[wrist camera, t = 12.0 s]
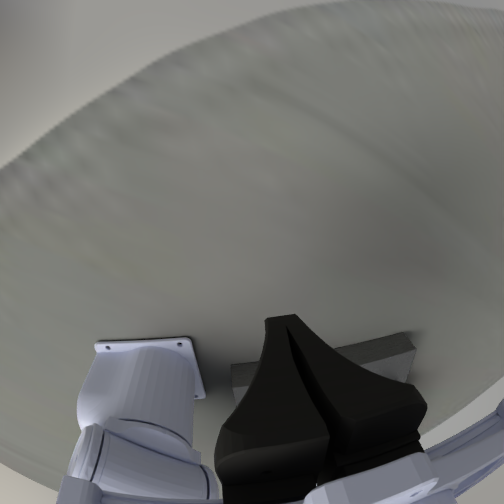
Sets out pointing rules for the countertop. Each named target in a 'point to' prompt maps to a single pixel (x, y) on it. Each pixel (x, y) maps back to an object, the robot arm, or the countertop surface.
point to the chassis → (363, 354)
